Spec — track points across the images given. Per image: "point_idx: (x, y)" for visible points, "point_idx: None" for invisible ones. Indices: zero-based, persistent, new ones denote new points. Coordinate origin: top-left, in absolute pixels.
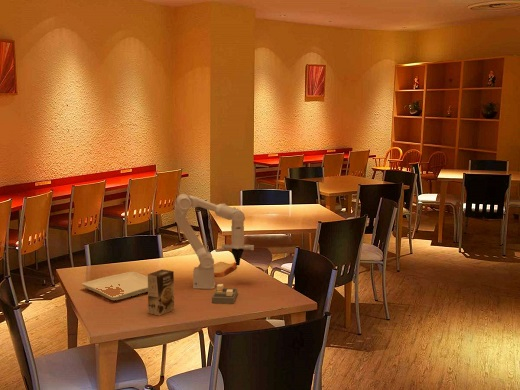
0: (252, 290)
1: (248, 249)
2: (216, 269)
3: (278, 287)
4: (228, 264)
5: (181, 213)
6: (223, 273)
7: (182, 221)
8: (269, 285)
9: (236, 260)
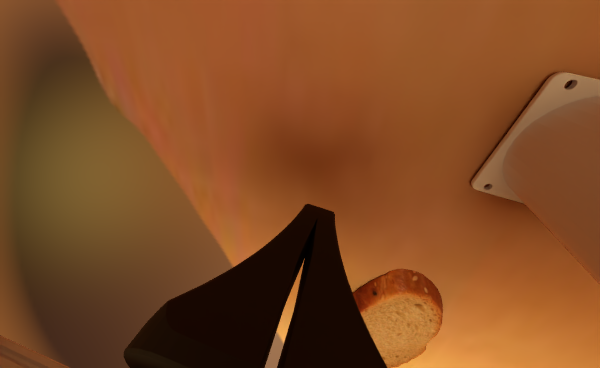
0: (260, 7)
1: (34, 361)
2: (403, 330)
3: (130, 59)
4: None
5: None
6: (384, 287)
7: None
8: (179, 103)
9: (322, 243)
